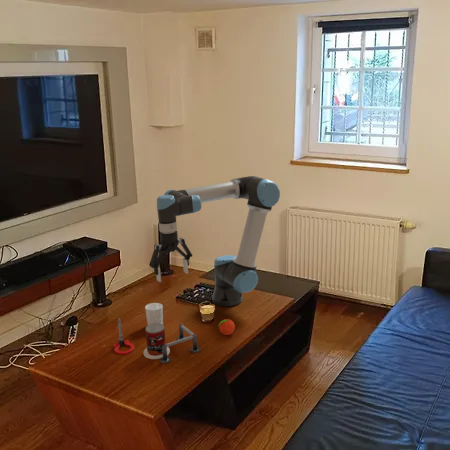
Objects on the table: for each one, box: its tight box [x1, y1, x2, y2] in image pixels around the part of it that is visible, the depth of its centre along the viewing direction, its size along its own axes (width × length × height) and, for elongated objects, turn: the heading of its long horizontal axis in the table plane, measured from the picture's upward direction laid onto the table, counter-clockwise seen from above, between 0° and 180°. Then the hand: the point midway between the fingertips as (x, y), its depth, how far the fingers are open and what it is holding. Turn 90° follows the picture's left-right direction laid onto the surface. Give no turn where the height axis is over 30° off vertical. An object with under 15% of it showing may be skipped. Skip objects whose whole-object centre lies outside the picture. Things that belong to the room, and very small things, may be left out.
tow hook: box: [113, 318, 135, 356], centre depth 231 cm, size 8×13×9 cm
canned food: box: [145, 323, 167, 356], centre depth 228 cm, size 8×8×11 cm
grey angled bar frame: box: [159, 323, 202, 364], centre depth 230 cm, size 18×16×7 cm
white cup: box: [144, 302, 164, 326], centre depth 251 cm, size 8×8×10 cm
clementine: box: [217, 318, 236, 336], centre depth 241 cm, size 8×7×7 cm
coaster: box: [142, 346, 171, 360], centre depth 229 cm, size 11×11×1 cm
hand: (172, 276), depth 242 cm, fingers open, 13 cm apart
